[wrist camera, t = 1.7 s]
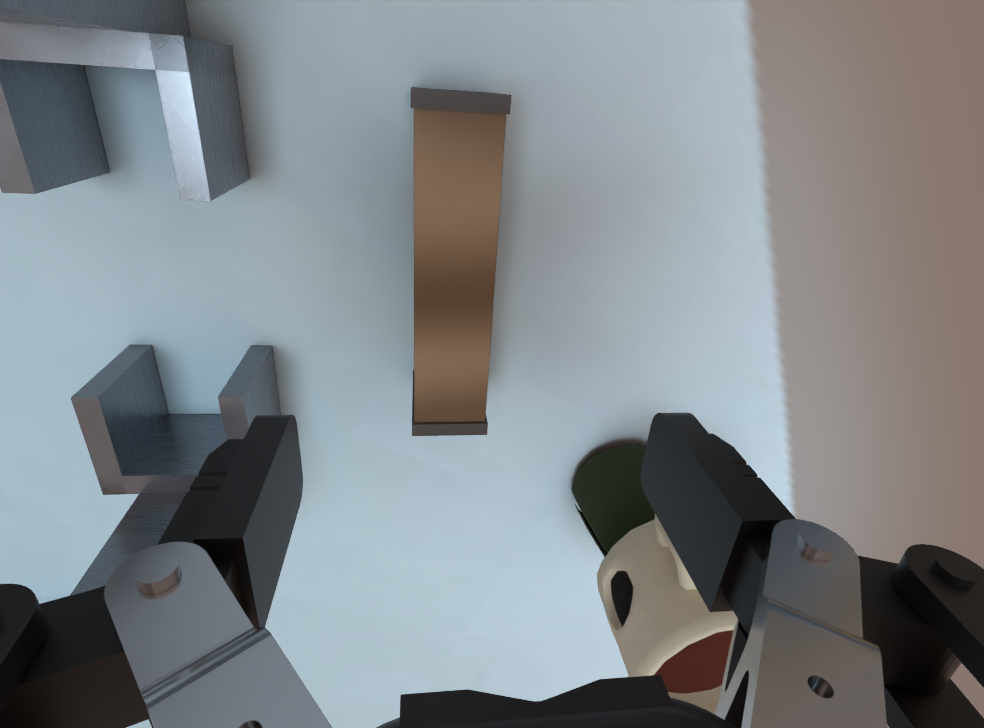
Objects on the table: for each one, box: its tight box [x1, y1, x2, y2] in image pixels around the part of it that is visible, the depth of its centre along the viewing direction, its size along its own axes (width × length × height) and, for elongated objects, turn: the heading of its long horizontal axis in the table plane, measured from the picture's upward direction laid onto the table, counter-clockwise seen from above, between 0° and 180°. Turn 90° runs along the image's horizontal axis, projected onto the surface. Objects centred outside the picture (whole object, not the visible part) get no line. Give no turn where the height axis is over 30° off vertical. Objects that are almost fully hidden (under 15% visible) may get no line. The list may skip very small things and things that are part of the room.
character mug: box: [571, 445, 738, 714], centre depth 28 cm, size 11×7×13 cm, turn 14°
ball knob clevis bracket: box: [0, 0, 281, 596], centre depth 18 cm, size 24×7×14 cm, turn 176°
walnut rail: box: [411, 87, 511, 436], centre depth 24 cm, size 14×3×5 cm, turn 176°
